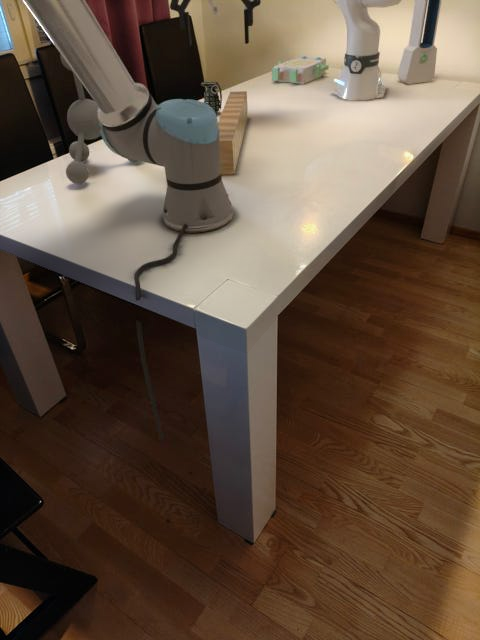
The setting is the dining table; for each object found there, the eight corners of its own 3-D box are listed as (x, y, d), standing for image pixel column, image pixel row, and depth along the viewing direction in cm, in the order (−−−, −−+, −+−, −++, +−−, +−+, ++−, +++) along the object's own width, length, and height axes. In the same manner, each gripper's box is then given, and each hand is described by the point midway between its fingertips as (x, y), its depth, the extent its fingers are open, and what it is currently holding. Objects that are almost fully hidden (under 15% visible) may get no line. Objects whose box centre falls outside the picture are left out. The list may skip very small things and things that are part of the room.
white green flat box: (294, 54, 218) (335, 57, 208) (294, 70, 222) (334, 73, 212) (263, 65, 202) (305, 69, 192) (263, 82, 206) (304, 86, 196)
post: (234, 174, 126) (232, 140, 121) (213, 174, 127) (210, 141, 122) (247, 118, 166) (246, 91, 160) (231, 118, 166) (230, 91, 161)
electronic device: (405, 84, 191) (419, -7, 173) (396, 80, 197) (408, -9, 178) (434, 81, 193) (450, -10, 175) (423, 77, 199) (438, -11, 181)
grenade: (202, 115, 171) (199, 84, 165) (206, 110, 175) (204, 80, 169) (220, 115, 169) (217, 84, 163) (224, 111, 174) (222, 80, 167)
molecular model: (155, 174, 129) (135, 45, 110) (70, 190, 123) (34, 57, 104) (137, 148, 146) (116, 33, 128) (61, 161, 140) (29, 42, 122)
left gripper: (271, -77, 102) (271, 39, 115) (155, -69, 105) (168, 43, 118) (270, -77, 97) (271, 44, 110) (147, -69, 99) (162, 49, 112)
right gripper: (266, -49, 135) (267, 10, 143) (194, -45, 136) (198, 13, 145) (266, -49, 130) (266, 12, 138) (190, -44, 132) (195, 16, 140)
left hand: (218, 44), depth 114 cm, fingers open, 13 cm apart
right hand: (231, 13), depth 142 cm, fingers open, 8 cm apart
